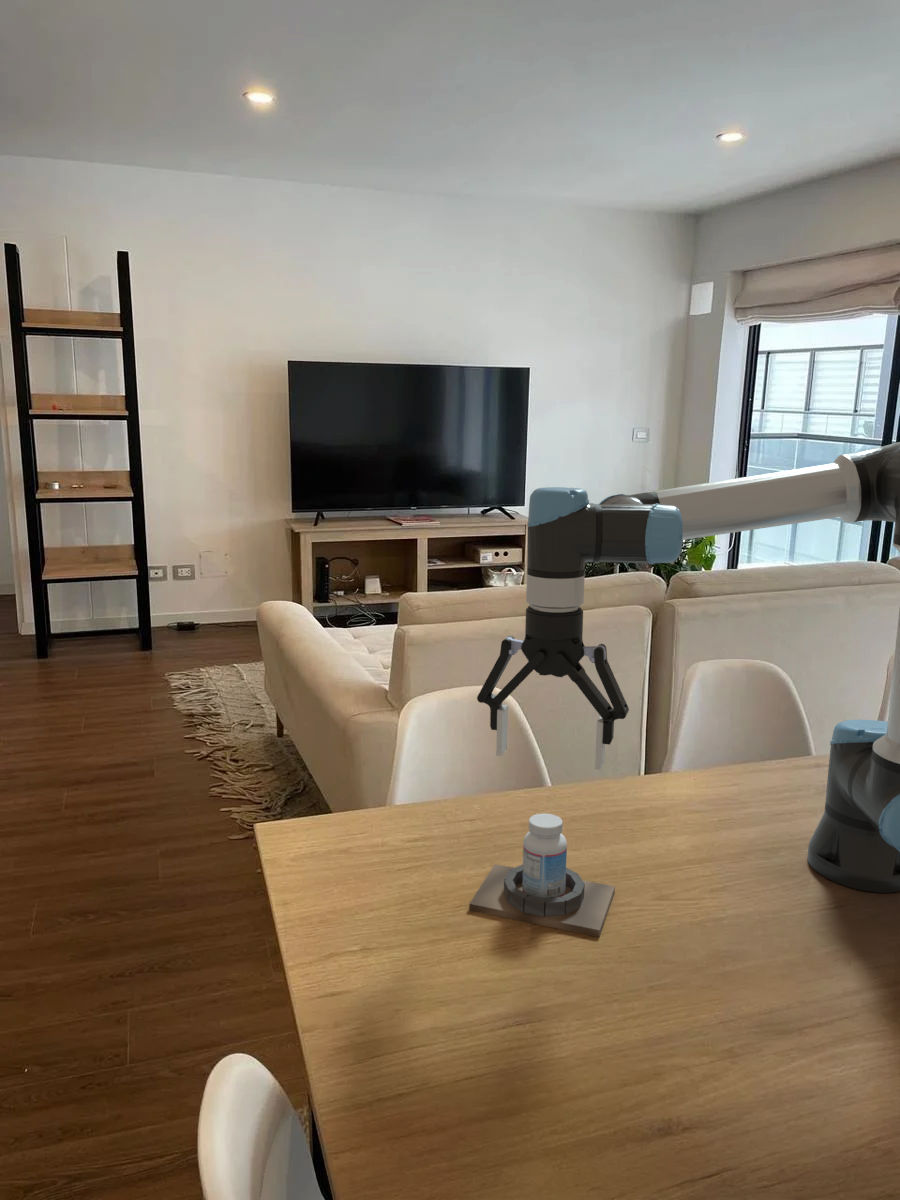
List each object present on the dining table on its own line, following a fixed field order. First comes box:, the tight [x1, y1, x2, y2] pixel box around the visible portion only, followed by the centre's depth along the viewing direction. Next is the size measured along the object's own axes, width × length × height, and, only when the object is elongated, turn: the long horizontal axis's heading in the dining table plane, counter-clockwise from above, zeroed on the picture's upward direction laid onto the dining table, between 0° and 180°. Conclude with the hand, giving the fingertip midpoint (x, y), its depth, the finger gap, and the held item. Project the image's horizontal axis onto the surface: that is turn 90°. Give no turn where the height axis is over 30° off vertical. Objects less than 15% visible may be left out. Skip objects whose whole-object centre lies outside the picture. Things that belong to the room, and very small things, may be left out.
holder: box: [468, 863, 616, 938], centre depth 124 cm, size 18×12×3 cm, turn 70°
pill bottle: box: [522, 813, 568, 898], centre depth 123 cm, size 6×6×11 cm
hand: (549, 759), depth 120 cm, fingers open, 13 cm apart
